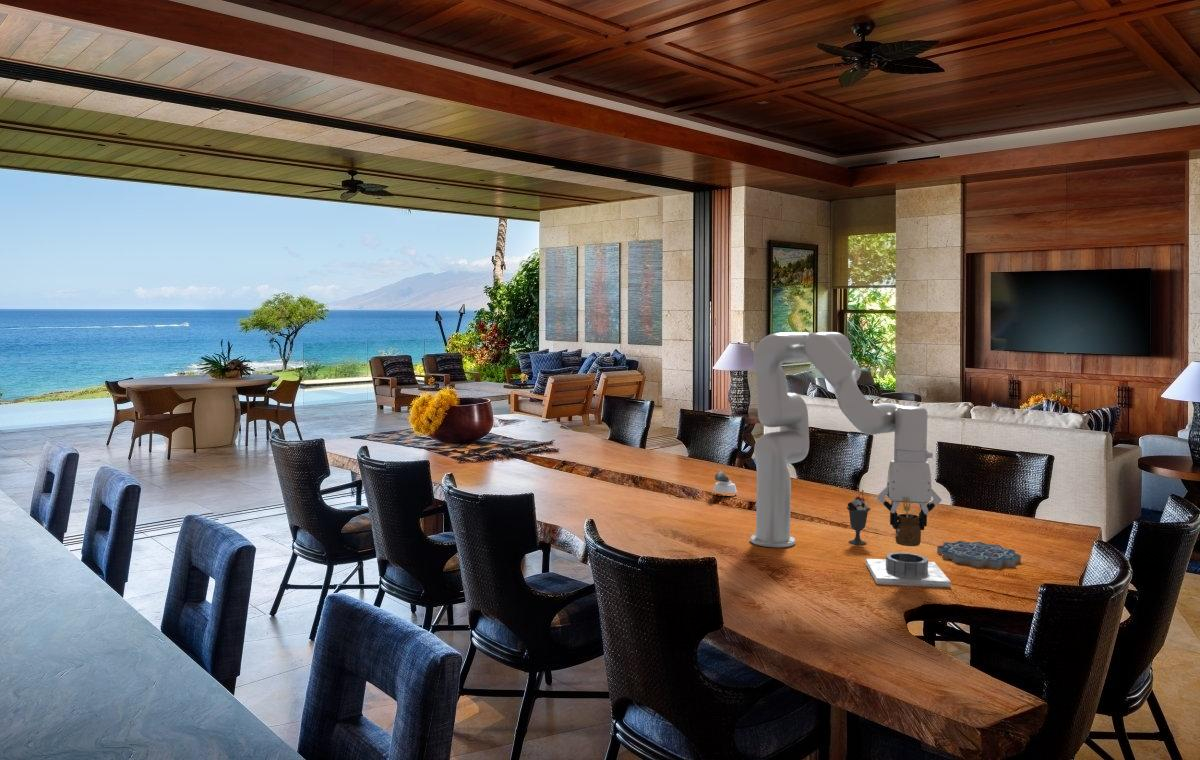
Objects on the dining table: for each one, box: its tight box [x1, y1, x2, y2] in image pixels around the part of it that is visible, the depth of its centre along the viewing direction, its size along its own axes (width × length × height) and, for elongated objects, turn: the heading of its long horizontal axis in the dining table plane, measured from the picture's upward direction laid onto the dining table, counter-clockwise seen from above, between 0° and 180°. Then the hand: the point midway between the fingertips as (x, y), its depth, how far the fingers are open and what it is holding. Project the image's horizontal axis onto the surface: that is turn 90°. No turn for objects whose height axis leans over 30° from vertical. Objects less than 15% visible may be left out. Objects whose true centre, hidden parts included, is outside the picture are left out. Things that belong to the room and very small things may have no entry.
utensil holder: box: [895, 498, 922, 547], centre depth 211 cm, size 6×6×12 cm
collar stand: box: [865, 551, 952, 589], centre depth 212 cm, size 17×17×4 cm
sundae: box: [846, 490, 871, 546], centre depth 243 cm, size 7×7×15 cm
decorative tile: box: [936, 540, 1022, 570], centre depth 229 cm, size 20×20×2 cm
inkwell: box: [712, 471, 738, 493], centre depth 305 cm, size 9×18×10 cm, turn 163°
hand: (908, 527), depth 211 cm, fingers closed on utensil holder, 5 cm apart
